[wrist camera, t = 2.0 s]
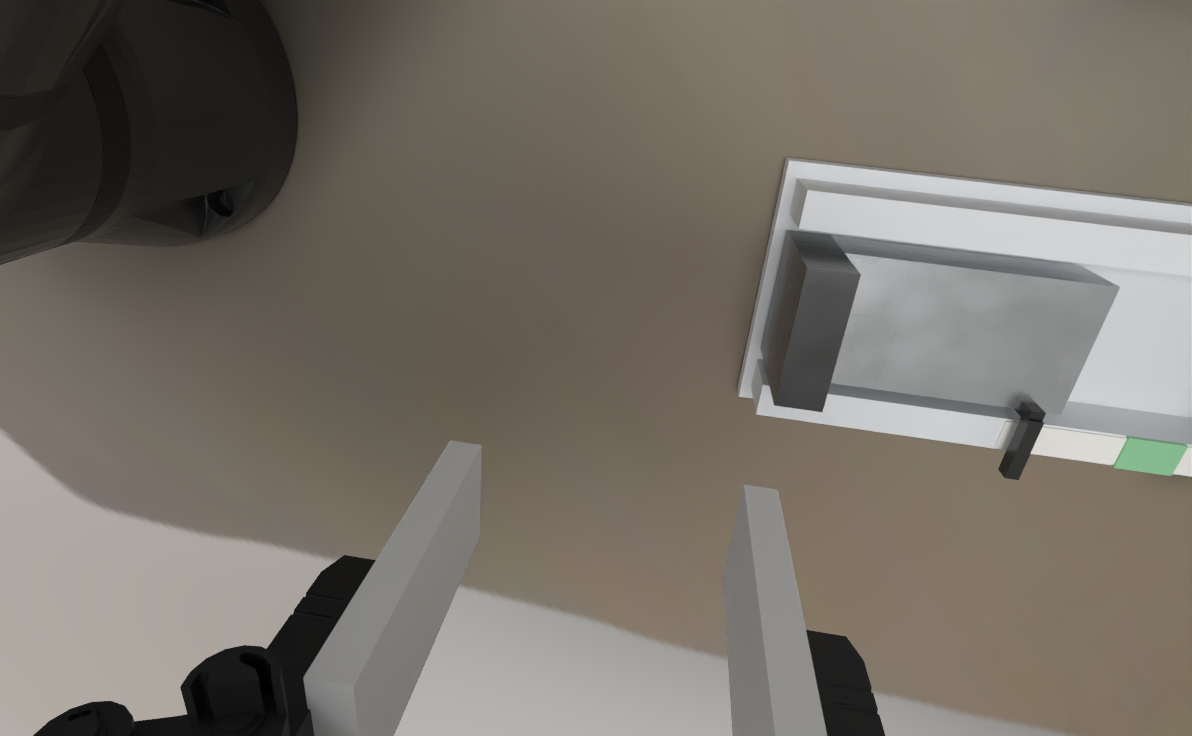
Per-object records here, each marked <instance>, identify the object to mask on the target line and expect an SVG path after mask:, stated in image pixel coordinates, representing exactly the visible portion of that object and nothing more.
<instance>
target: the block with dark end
mask: <svg viewBox="0 0 1192 736" xmlns="http://www.w3.org/2000/svg"><path fill="white" fill-rule="evenodd" d="M1119 289H1120V287H1119V286H1117V285H1115V284H1114V283H1112V282H1110V281H1108V280H1106V279H1104V278H1103V277H1101V276H1099V275H1097V274H1095V273H1093V272H1092V271H1090V270H1088V269H1086V268H1084V267H1082V266H1079V265H1070V264H1062V263H1054V262H1046V261H1038V260H1030V259H1021V258H1013V257H1005V256H997V255H989V254H980V253H972V252H964V251H956V250H948V249H939V248H931V247H923V246H915V245H907V244H898V243H890V242H882V241H874V240H866V239H858V238H849V237H841V236H833V235H825V234H817V233H808V232H800V231H792V230H787V231H786V235H785V240H784V244H783V249H782V253H781V258H780V262H779V267H778V271H777V276H776V280H775V285H774V289H773V294H772V298H771V303H770V307H769V312H768V316H767V321H766V325H765V330H764V334H763V339H762V343H761V348H760V349H761V353H762V357H763V361H764V365H765V370H766V374H767V378H768V382H769V386H770V391H771V395H772V399H773V403H774V406H781V407H788V408H795V409H802V410H810V411H817V412H823V408H824V405H825V401H826V398H827V394H828V391H829V387H830V383H833V384H840V385H848V386H855V387H862V388H869V389H876V390H884V391H891V392H898V393H905V394H913V395H920V396H927V397H934V398H941V399H949V400H956V401H963V402H970V403H978V404H985V405H992V406H999V407H1007V408H1014V409H1015V411H1016V412H1017V413H1018V414H1019V415H1020V417H1021V418H1020V420H1019V423H1018V425H1017V427H1016V429H1015V432H1014V434H1013V436H1012V439H1011V441H1010V443H1009V446H1008V448H1007V450H1006V453H1005V455H1004V457H1003V459H1002V462H1001V464H1000V466H999V469H998V470H999V471H1000V472H1001V474H1002V475H1003V476H1004V478H1009V479H1015V480H1019V478H1020V475H1021V473H1022V471H1023V469H1024V467H1025V464H1026V462H1027V460H1028V458H1029V456H1030V453H1031V451H1032V449H1033V447H1034V445H1035V442H1036V440H1037V438H1038V436H1039V433H1040V431H1041V429H1042V427H1043V425H1044V422H1043V419H1044V417H1045V415H1046V413H1050V414H1057V415H1061V414H1062V412H1063V410H1064V407H1065V405H1066V403H1067V401H1068V399H1069V397H1070V395H1071V392H1072V390H1073V388H1074V386H1075V384H1076V382H1077V379H1078V377H1079V375H1080V373H1081V371H1082V369H1083V366H1084V364H1085V362H1086V360H1087V358H1088V356H1089V354H1090V351H1091V349H1092V347H1093V345H1094V343H1095V341H1096V338H1097V336H1098V334H1099V332H1100V330H1101V328H1102V325H1103V323H1104V321H1105V319H1106V317H1107V315H1108V313H1109V310H1110V308H1111V306H1112V304H1113V302H1114V300H1115V297H1116V295H1117V293H1118V291H1119Z"/></svg>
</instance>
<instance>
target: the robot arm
mask: <svg viewBox="0 0 1192 736" xmlns="http://www.w3.org/2000/svg"><path fill="white" fill-rule="evenodd" d="M295 138H296V101H295V93H294V87H293V82H292V77H291V73H290V69H289V65H288V62H287V59H286V55H285V52H284V49H283V47H282V44H281V42H280V39H279V37H278V35H277V32H276V30H275V28H274V26H273V24H272V22H271V20H270V18H269V16H268V14H267V12H266V11H265V9H264V7H263V6H262V4H261V2H260V1H259V0H0V265H1V264H4V263H8V262H11V261H14V260H17V259H20V258H23V257H26V256H30V255H33V254H36V253H39V252H42V251H45V250H48V249H52V248H55V247H58V246H61V245H65V244H68V243H71V242H90V243H107V244H124V245H141V246H158V247H169V246H181V245H187V244H193V243H197V242H201V241H204V240H207V239H210V238H213V237H215V236H218V235H221V234H223V233H226V232H228V231H231V230H233V229H236V228H238V227H240V226H242V225H244V224H245V223H247V222H249V221H250V220H251V219H253V218H254V217H256V216H257V215H258V214H259V213H260V212H261V211H263V209H264V208H265V207H266V206H267V205H268V204H269V203H270V202H271V200H272V199H273V198H274V196H275V195H276V193H277V192H278V190H279V189H280V187H281V185H282V183H283V181H284V179H285V177H286V174H287V172H288V169H289V166H290V163H291V160H292V155H293V151H294V145H295ZM481 454H482V445H478V444H471V443H465V442H458V441H451V440H450V441H449V443H448V444H447V446H446V448H445V449H444V451H443V452H442V454H441V456H440V457H439V459H438V461H437V462H436V464H435V465H434V467H433V469H432V470H431V472H430V474H429V475H428V477H427V478H426V480H425V482H424V483H423V485H422V486H421V488H420V490H419V491H418V493H417V495H416V496H415V498H414V499H413V501H412V503H411V504H410V506H409V507H408V509H407V511H406V512H405V514H404V516H403V517H402V519H401V520H400V522H399V524H398V525H397V527H396V529H395V530H394V532H393V533H392V535H391V537H390V538H389V540H388V541H387V543H386V545H385V546H384V548H383V550H382V551H381V553H380V554H379V556H378V558H377V559H376V560H370V559H364V558H358V557H352V556H346V555H344V556H343V557H341V558H340V559H338V560H337V561H336V562H334V563H333V564H331V565H330V566H329V567H327V568H326V569H325V570H323V571H322V572H321V573H320V574H319V576H318V577H317V579H316V580H315V581H314V583H313V584H312V586H311V587H310V588H309V590H308V591H307V593H306V597H303V598H302V600H301V601H300V603H299V604H298V605H297V607H296V608H295V610H294V613H293V615H291V616H290V617H289V618H288V620H287V621H286V622H285V624H284V625H283V627H282V628H281V630H280V631H279V632H278V634H277V635H276V637H275V638H274V639H273V641H272V642H271V644H270V645H269V646H268V648H267V649H265V648H263V647H258V646H246V645H244V646H239V647H234V648H230V649H225V650H223V651H221V652H219V653H217V654H215V655H213V656H211V657H209V658H206V659H205V660H204V661H203V662H202V663H200V664H199V665H198V666H197V667H196V668H194V669H193V670H192V671H191V672H190V674H189V675H188V676H187V678H186V679H185V681H184V682H183V684H182V685H181V691H182V695H183V699H184V702H185V706H186V710H187V713H188V714H187V715H182V716H176V717H167V718H160V719H152V720H143V721H136V722H134V720H133V716H132V715H131V714H130V712H129V711H128V710H127V708H126V707H125V706H124V705H121V704H118V703H115V702H112V701H104V702H91V703H87V704H84V705H81V706H78V707H75V708H72V709H70V710H68V711H66V712H64V713H63V714H61V715H59V716H57V717H56V718H54V719H52V720H50V721H49V722H48V723H47V724H46V725H45V726H43V727H42V728H41V729H40V730H39V731H38V732H37V733H36V734H34V736H394V734H395V731H396V729H397V727H398V725H399V722H400V720H401V717H402V715H403V713H404V710H405V708H406V706H407V704H408V701H409V699H410V697H411V694H412V692H413V690H414V688H415V685H416V683H417V681H418V678H419V676H420V674H421V671H422V669H423V667H424V665H425V662H426V660H427V657H428V655H429V653H430V651H431V648H432V646H433V644H434V641H435V639H436V637H437V634H438V632H439V630H440V628H441V625H442V623H443V621H444V618H445V616H446V614H447V611H448V609H449V607H450V605H451V602H452V600H453V597H454V595H455V593H456V591H457V588H458V586H459V584H460V581H461V579H462V577H463V575H464V572H465V570H466V568H467V565H468V563H469V561H470V558H471V556H472V554H473V552H474V549H475V547H476V545H477V542H478V540H479V538H480V505H481ZM723 587H724V603H725V619H726V635H727V651H728V667H729V683H730V697H731V715H732V729H733V736H885V733H884V730H883V726H882V723H881V719H880V716H879V715H878V714H877V710H878V709H877V706H876V702H875V698H874V695H873V693H871V684H870V681H869V677H868V674H867V670H866V667H865V663H864V661H863V659H862V658H861V657H860V655H859V654H858V652H857V651H856V650H855V648H854V647H853V645H852V644H851V643H850V641H849V640H848V639H847V637H845V636H839V635H833V634H827V633H821V632H815V631H809V630H806V627H805V622H804V617H803V612H802V607H801V602H800V598H799V593H798V588H797V583H796V578H795V573H794V568H793V563H792V558H791V553H790V548H789V543H788V538H787V533H786V528H785V523H784V518H783V513H782V508H781V503H780V498H779V493H778V490H777V489H770V488H764V487H757V486H750V485H744V487H743V491H742V495H741V500H740V504H739V508H738V513H737V517H736V521H735V525H734V530H733V534H732V538H731V543H730V547H729V551H728V556H727V560H726V564H725V568H724V573H723Z"/></svg>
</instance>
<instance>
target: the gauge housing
mask: <svg viewBox="0 0 1192 736" xmlns="http://www.w3.org/2000/svg"><path fill="white" fill-rule="evenodd" d="M787 230H792V231H800V232H808V233H817V234H825V235H833V236H841V237H849V238H858V239H866V240H874V241H882V242H890V243H898V244H907V245H915V246H923V247H931V248H939V249H948V250H956V251H964V252H972V253H980V254H989V255H997V256H1005V257H1013V258H1021V259H1030V260H1038V261H1046V262H1054V263H1062V264H1070V265H1079V266H1082V267H1084V268H1086V269H1088V270H1090V271H1092V272H1093V273H1095V274H1097V275H1099V276H1101V277H1103V278H1104V279H1106V280H1108V281H1110V282H1112V283H1114V284H1115V285H1117V286H1119V287H1120V289H1119V291H1118V293H1117V295H1116V297H1115V300H1114V302H1113V304H1112V306H1111V308H1110V310H1109V313H1108V315H1107V317H1106V319H1105V321H1104V323H1103V325H1102V328H1101V330H1100V332H1099V334H1098V336H1097V338H1096V341H1095V343H1094V345H1093V347H1092V349H1091V351H1090V354H1089V356H1088V358H1087V360H1086V362H1085V364H1084V366H1083V369H1082V371H1081V373H1080V375H1079V377H1078V379H1077V382H1076V384H1075V386H1074V388H1073V390H1072V392H1071V395H1070V397H1069V399H1068V401H1067V403H1066V405H1065V407H1064V410H1063V412H1062V414H1061V415H1057V414H1050V413H1046V415H1045V417H1044V419H1043V422H1044V425H1043V427H1042V429H1041V431H1040V433H1039V436H1038V438H1037V440H1036V442H1035V445H1034V447H1033V449H1032V451H1031V453H1030V454H1037V455H1044V456H1051V457H1058V458H1065V459H1072V460H1079V461H1086V462H1093V463H1100V464H1107V465H1112V466H1113V467H1114V468H1119V469H1126V470H1133V471H1140V472H1147V473H1154V474H1161V475H1168V476H1172V474H1177V475H1184V476H1191V477H1192V203H1184V202H1175V201H1166V200H1157V199H1148V198H1140V197H1131V196H1122V195H1113V194H1105V193H1096V192H1087V191H1078V190H1070V189H1061V188H1052V187H1043V186H1035V185H1026V184H1017V183H1008V182H999V181H991V180H982V179H973V178H964V177H956V176H947V175H938V174H929V173H921V172H912V171H903V170H894V169H885V168H877V167H868V166H859V165H850V164H842V163H833V162H824V161H815V160H807V159H798V158H789V157H786V161H785V166H784V170H783V175H782V180H781V184H780V189H779V194H778V199H777V203H776V208H775V213H774V218H773V222H772V227H771V232H770V237H769V241H768V246H767V251H766V255H765V260H764V265H763V270H762V274H761V279H760V284H759V289H758V293H757V298H756V303H755V307H754V312H753V317H752V322H751V326H750V331H749V336H748V341H747V345H746V350H745V355H744V360H743V364H742V369H741V374H740V378H739V383H738V395H739V397H746V398H753V400H754V406H755V411H756V414H757V415H764V416H771V417H778V418H785V419H792V420H799V421H806V422H813V423H820V424H827V425H834V426H841V427H848V428H855V429H862V430H869V431H876V432H883V433H890V434H897V435H904V436H911V437H918V438H925V439H932V440H939V441H946V442H953V443H960V444H967V445H974V446H981V447H988V448H995V449H1002V450H1007V448H1008V446H1009V443H1010V441H1011V439H1012V436H1013V434H1014V432H1015V429H1016V427H1017V425H1018V423H1019V420H1020V418H1021V417H1020V415H1019V414H1018V413H1017V412H1016V411H1015V409H1014V408H1007V407H999V406H992V405H985V404H978V403H970V402H963V401H956V400H949V399H941V398H934V397H927V396H920V395H913V394H905V393H898V392H891V391H884V390H876V389H869V388H862V387H855V386H848V385H840V384H833V383H830V387H829V391H828V394H827V398H826V401H825V405H824V408H823V412H817V411H810V410H802V409H795V408H788V407H781V406H774V403H773V399H772V395H771V391H770V386H769V382H768V378H767V374H766V370H765V365H764V361H763V357H762V353H761V349H760V348H761V343H762V339H763V334H764V330H765V325H766V321H767V316H768V312H769V307H770V303H771V298H772V294H773V289H774V285H775V280H776V276H777V271H778V267H779V262H780V258H781V253H782V249H783V244H784V240H785V235H786V231H787Z"/></svg>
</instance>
